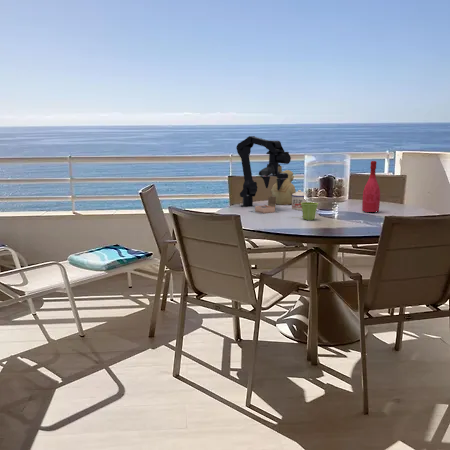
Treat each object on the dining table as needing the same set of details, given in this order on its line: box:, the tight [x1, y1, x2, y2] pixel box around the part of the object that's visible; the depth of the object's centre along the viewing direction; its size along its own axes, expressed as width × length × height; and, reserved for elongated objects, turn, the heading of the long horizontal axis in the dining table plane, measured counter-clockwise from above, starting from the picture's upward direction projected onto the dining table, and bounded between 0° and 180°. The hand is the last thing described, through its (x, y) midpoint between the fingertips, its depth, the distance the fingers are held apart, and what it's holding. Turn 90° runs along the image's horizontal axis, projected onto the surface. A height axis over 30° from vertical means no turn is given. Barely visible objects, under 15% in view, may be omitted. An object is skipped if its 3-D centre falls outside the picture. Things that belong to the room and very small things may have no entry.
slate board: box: [248, 209, 278, 215], centre depth 289 cm, size 12×14×1 cm
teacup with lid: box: [291, 189, 307, 211], centre depth 303 cm, size 12×9×12 cm
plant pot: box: [301, 201, 319, 221], centre depth 272 cm, size 9×9×9 cm
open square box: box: [254, 204, 276, 214], centre depth 288 cm, size 8×8×3 cm
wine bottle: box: [361, 160, 381, 213], centre depth 295 cm, size 10×10×30 cm
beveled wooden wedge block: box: [267, 196, 277, 208], centre depth 300 cm, size 2×4×8 cm, turn 122°
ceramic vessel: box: [270, 165, 297, 206], centre depth 324 cm, size 17×20×25 cm
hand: (272, 189), depth 297 cm, fingers open, 9 cm apart
